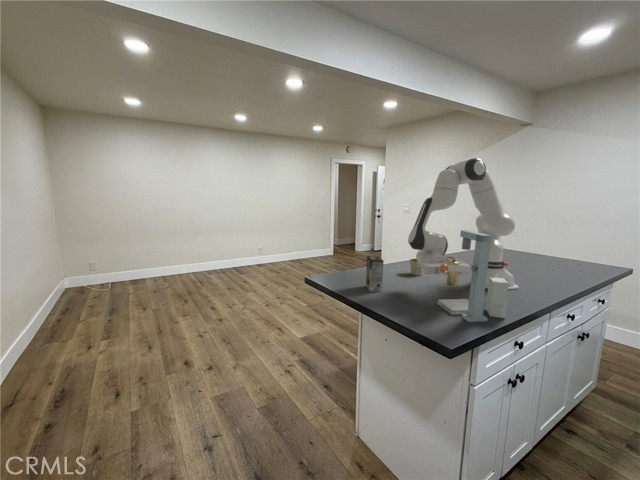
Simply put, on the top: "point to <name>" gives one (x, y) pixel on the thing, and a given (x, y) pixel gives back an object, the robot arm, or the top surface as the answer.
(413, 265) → the flower pot
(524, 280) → the top surface
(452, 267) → the lever
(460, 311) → the press bed
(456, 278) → the cylinder
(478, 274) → the frame
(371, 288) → the coffee box
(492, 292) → the skincare box
